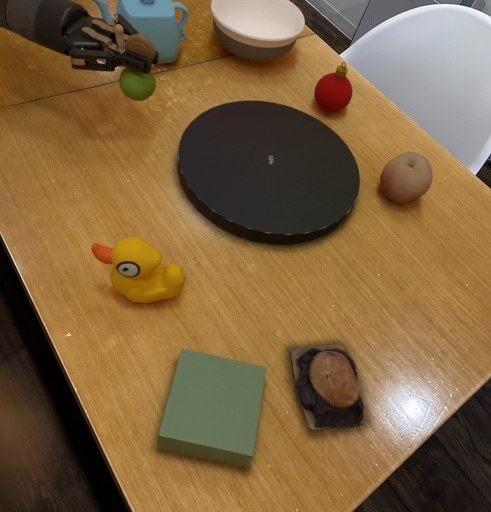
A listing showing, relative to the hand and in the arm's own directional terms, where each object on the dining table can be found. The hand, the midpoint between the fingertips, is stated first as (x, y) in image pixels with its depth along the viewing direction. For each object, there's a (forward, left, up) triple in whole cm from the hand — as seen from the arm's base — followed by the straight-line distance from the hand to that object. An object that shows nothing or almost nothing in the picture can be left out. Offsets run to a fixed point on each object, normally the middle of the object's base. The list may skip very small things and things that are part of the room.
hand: (153, 63), depth 72 cm
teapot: (-9, +23, -14) cm, 28 cm away
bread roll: (+33, -37, -14) cm, 51 cm away
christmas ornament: (+29, +20, -14) cm, 38 cm away
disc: (+20, -2, -14) cm, 25 cm away
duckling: (+7, -29, -14) cm, 33 cm away
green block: (+19, -43, -14) cm, 49 cm away
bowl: (+12, +33, -14) cm, 37 cm away
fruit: (+43, +1, -14) cm, 45 cm away
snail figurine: (-3, 0, -7) cm, 8 cm away
